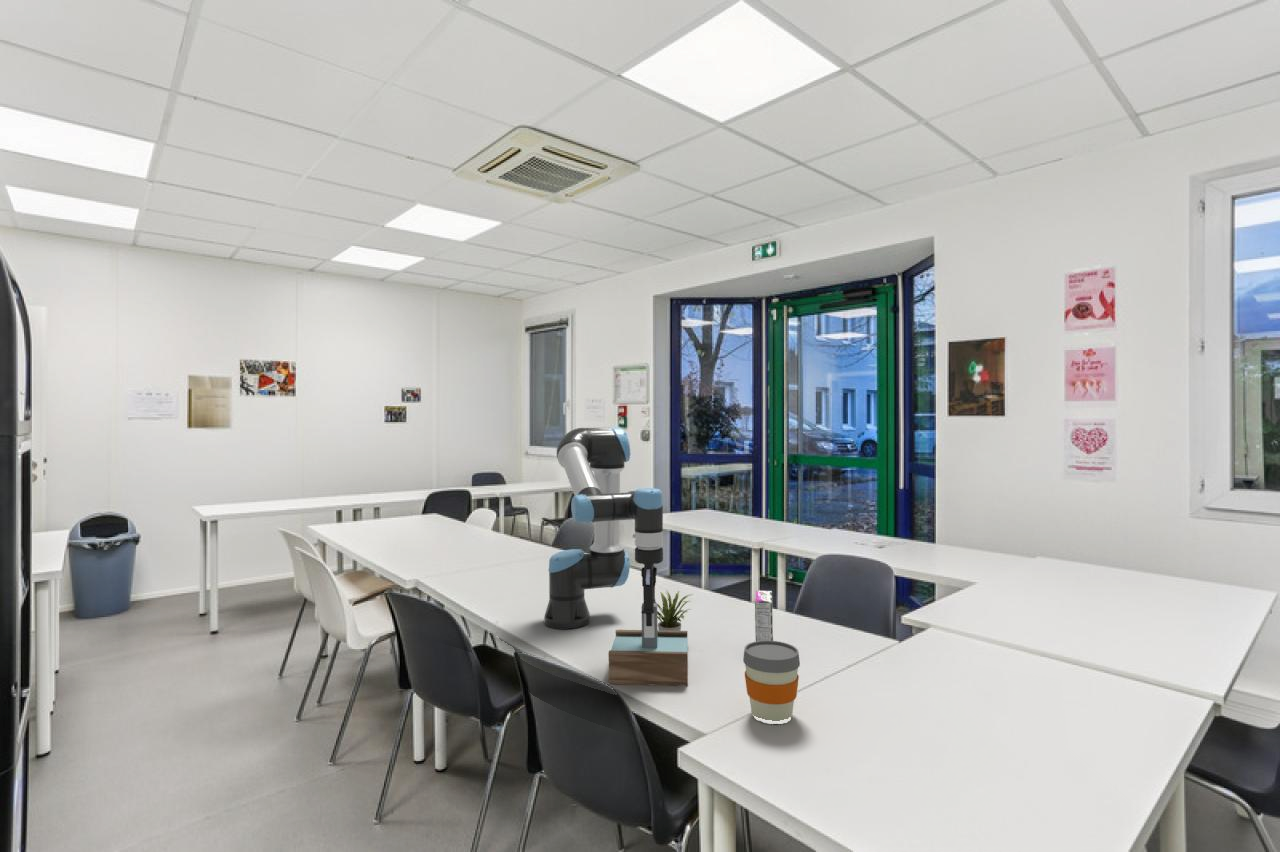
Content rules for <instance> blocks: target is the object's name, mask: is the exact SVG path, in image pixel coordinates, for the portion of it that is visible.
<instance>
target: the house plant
mask: <svg viewBox="0 0 1280 852" xmlns="http://www.w3.org/2000/svg"><path fill="white" fill-rule="evenodd" d="M665 590H666V591H665V594H666V596H665V594H664V593H663V592H660V596H661V600H662V601H661V602H662V607H661V605H660V604H659V603H657V601H655V603H657V608H658V609H659V610H660V611H658V610H657V620H659V621H660V622H657V630H662V631H682V620H684V619H685V615H684V614H685V613H689V612H688V611H690V610H691V608H688V609H686V610H684V609H682V608H683V607H684V606H685V605H686V604H687V603H689V602H690V600H685V599H687V598H688V597H690V596H694V594H688V595H685V596H684V597H682V598H681V599H680V601H679V602H678V599H679V595H680V590H678V591H677V592H676V593H675V596H674V598H673V599H672V598H671V594H670V593H669V591H668V590H667V589H665ZM666 597H667V598H666ZM677 602H678V603H677ZM682 603H683V604H682ZM681 604H682V605H681ZM679 607H680V608H679ZM677 610H678V611H677ZM680 613H681V614H680ZM679 614H680V615H679ZM678 615H679V616H678ZM680 618H681V619H682V620H681V619H680Z"/></svg>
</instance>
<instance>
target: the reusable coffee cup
mask: <svg viewBox="0 0 1280 852" xmlns="http://www.w3.org/2000/svg"><path fill="white" fill-rule="evenodd" d="M743 649H744V651H743V664H744V667H745V671H744V679H745V685H746V686H745V687H746V693H747V695H748V697H749V702H750V712H751V715H752V714H753V715H754V716H756V717H758V718H762V719H765V720H772V721H780V720H784V719H788V718H789V717H791V716H792V717H793V711H794V704H795V700H796V699H797V695H798V686H799V677H800V676H799V674H798V672H799V671H798V670H799V667H800V665H801V663H800V654H799V649H797V647H796V646H794V645H793V644H790V643H787V642H782V641H776V640H773V641H756V640H755V641H753V642H750V643H747V644H746V645H745V646H744V648H743Z"/></svg>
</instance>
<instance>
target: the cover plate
mask: <svg viewBox="0 0 1280 852" xmlns="http://www.w3.org/2000/svg"><path fill="white" fill-rule="evenodd" d="M657 604H658V603H657V602H656V603H654V634H655V637H654V638H644V614H643V613H641V630H642V636H616V635H615V637H614V640H613V644H612V646H611V649H610V651H667V652H687V657H689V656H688V655H689V654H688V651H689V650H688V646H689V643H688V642H689V641H688V639H687V638H688V636H687V637H663V636H658V631H657V630H658V618H657V616H658V614H657V611H658V606H657ZM643 610H644V602H643V603H641V611H643Z"/></svg>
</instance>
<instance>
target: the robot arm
mask: <svg viewBox="0 0 1280 852" xmlns="http://www.w3.org/2000/svg"><path fill="white" fill-rule="evenodd" d="M556 458H557V461H558V464H559V465H560V467H562V468H563V469H564V471H565V473H566V476H567V480H568V481H569V482H568V483H569V484H570V485H569V486H570V487H571V490H572V492H573V496H572V499H571V505H570V506H571V508H570V509H571V516H572V520H574V522H575V523H586V524H587V523H594V527H593V528H594V533H593V534H594V535H593V537H594V538H593V539H594V540H593V543H592V545H590V546H589V553H585V551H584V550H583V549H580V548H577V549H572V548H571V549H566V550H562V551H558V552H556V553H554V554H552V555H551V556H550V557H549V561H548V562H549V563H548V581H549V583H548V584H549V585H548V587H549V588H548V590H549V591H548V592H549V593H548V594H549V597H548V598H549V599H548V603H547V606H546V609H545V613H544V615H543V616H544V618H543V622H544V625H545V626H546V627H549V628H551V629H555V630H557V629H558V630H570V629H569V628H573V629H578V628H582V627H584V625H585V626H587V625H588V624H589V623H590V622H591V614H590V611H589V608H588V605H587V602H586V598H585V590H591V589H592V590H593V589H602V588H604V589H605V588H615V587H622V586H623V585H625V584H626V582H627V580H628V578H629V575H630V569H631V567H630V565H631V562H630V555H629V553H628V551H626V550H625V546H624V545H623V544H622V543H621V542H620V541H621V540H620V534H621V533H620V529H621V528H620V526H621V525H620V523H621V522H620V521H630V520H631V521H632V520H634V534H632V535H631V536H632V538H633V539H634V545H635V548H634V561H635V562H636V563H637V564H642V565H644V566H643V567H642V568H641V572H640V575H641V579H642V580H641V583H642V584H641V585H642V588H643V595H642V596H643V597H642V598H643V603H644V610H643V611H642V610H641V614H642V613H643V614H644V638H654V637H655V634H654V603H655V602H656V594H655V593H656V583H657V573H658V572H657V571H658V569H657V568H658V567H656V566H655V564H656V565H657V564H661V563H662V562H663V561H664V548H663V546H664V530H663V527H664V525H663V524H664V521H663V520H664V519H663V517H664V516H663V515H664V514H663V513H664V510H663V509H664V499H663V492H662V490H661V489H659V488H653V487H642V488H637V489H635V490H630V491H627V492H621V490H620V489H621V472H622V471H623V470H624V469H625V463H627V462H629V461H630V459H631V445H630V441H629V438H628V434H627V433H626V431H625V430H624V429H623V428H621V427H612V426H610V427H609V426H608V427H605V426H603V427H578V428H575V429H572V430H570V431H569V432H567V433H566V434H565V435H564V436H562V437H561V439H560V440H559V442H558V444H557V446H556ZM586 624H587V625H586ZM581 626H582V627H581ZM577 627H578V628H577Z"/></svg>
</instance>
